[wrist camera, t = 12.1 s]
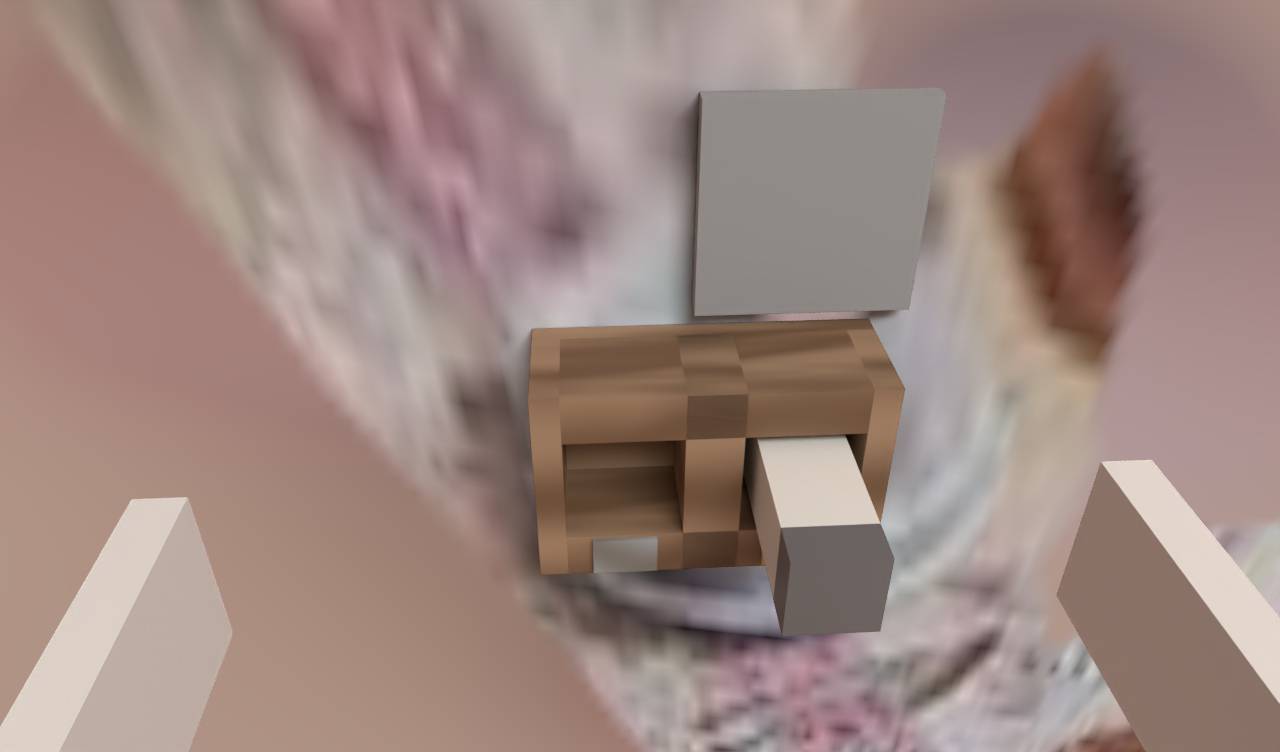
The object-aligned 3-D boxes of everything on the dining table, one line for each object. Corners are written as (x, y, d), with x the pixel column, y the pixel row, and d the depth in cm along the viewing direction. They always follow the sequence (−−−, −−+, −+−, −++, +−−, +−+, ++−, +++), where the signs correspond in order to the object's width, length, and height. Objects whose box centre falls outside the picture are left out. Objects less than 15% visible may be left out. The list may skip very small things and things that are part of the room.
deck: (699, 92, 40) (702, 99, 39) (939, 87, 40) (946, 94, 39) (692, 305, 45) (694, 316, 44) (902, 299, 46) (908, 309, 45)
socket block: (532, 328, 45) (527, 404, 40) (868, 318, 46) (906, 391, 41) (544, 495, 51) (541, 581, 46) (843, 483, 52) (874, 566, 46)
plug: (743, 386, 47) (790, 563, 37) (824, 384, 47) (894, 559, 37) (738, 452, 49) (782, 636, 39) (816, 449, 49) (880, 631, 39)
